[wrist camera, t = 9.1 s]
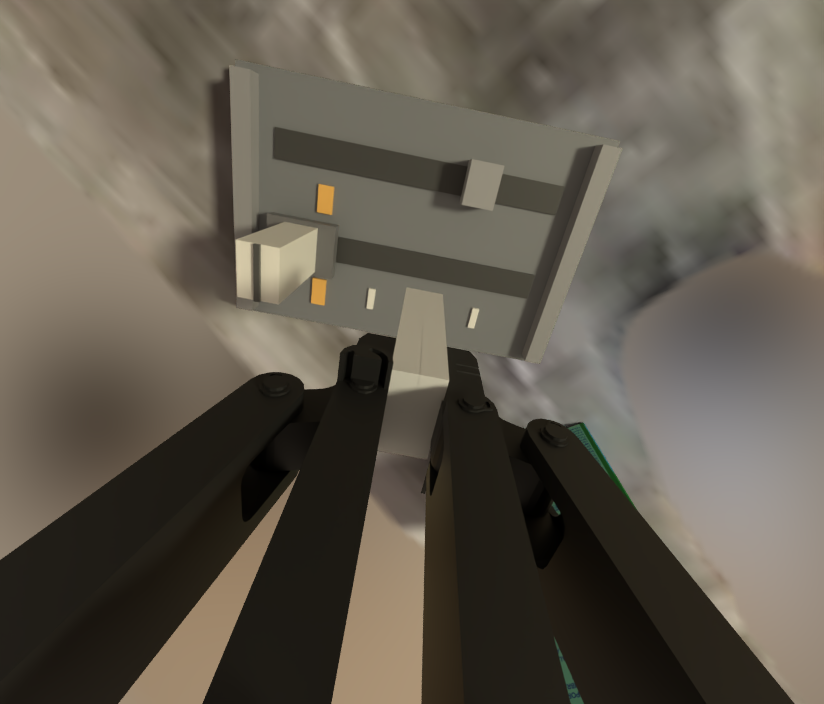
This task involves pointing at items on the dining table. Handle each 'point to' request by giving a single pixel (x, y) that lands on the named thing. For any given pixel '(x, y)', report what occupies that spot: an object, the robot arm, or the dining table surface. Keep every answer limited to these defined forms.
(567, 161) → the console
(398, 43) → the dining table surface
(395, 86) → the dining table surface
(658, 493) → the dining table surface
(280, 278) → the fader
